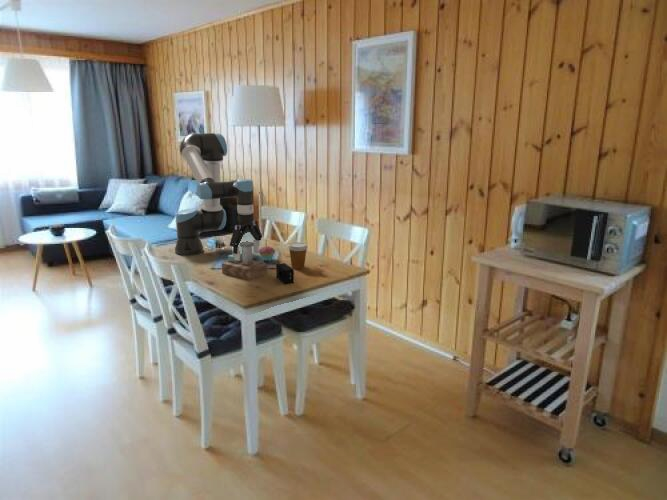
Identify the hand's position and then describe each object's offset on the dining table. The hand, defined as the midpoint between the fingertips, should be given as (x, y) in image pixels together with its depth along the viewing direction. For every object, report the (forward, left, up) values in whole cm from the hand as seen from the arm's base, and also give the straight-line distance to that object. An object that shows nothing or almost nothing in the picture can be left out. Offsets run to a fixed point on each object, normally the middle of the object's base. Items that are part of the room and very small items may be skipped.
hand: (247, 256), depth 219 cm
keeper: (-8, 0, -3) cm, 9 cm away
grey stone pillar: (0, 0, -9) cm, 9 cm away
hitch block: (-2, 0, -9) cm, 9 cm away
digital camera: (+20, +2, -9) cm, 22 cm away
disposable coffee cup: (+14, +22, -9) cm, 28 cm away
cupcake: (-7, +23, -9) cm, 26 cm away
